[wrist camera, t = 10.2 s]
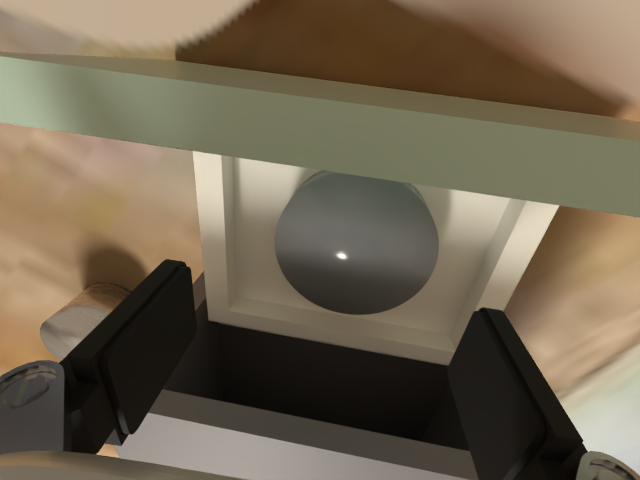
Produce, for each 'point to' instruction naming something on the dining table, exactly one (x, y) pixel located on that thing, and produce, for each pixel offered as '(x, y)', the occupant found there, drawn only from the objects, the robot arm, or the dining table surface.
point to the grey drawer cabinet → (300, 411)
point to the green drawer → (349, 158)
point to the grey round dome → (356, 242)
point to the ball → (80, 317)
